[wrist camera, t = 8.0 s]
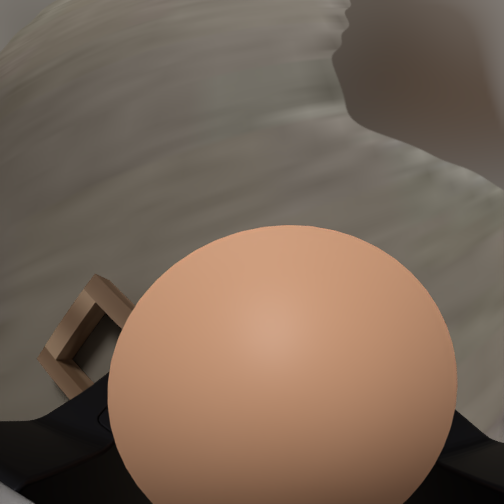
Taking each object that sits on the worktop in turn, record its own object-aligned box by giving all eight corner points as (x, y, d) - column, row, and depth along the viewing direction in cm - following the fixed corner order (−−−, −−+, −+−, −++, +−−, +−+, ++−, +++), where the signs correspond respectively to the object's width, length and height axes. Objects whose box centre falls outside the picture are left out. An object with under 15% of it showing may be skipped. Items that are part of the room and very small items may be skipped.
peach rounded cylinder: (244, 409, 15) (203, 578, 2) (211, 335, 16) (64, 306, 3) (320, 376, 15) (484, 449, 3) (286, 303, 16) (370, 178, 4)
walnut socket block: (126, 435, 19) (113, 443, 17) (54, 358, 21) (36, 358, 19) (191, 355, 21) (183, 356, 19) (109, 280, 23) (95, 273, 21)
